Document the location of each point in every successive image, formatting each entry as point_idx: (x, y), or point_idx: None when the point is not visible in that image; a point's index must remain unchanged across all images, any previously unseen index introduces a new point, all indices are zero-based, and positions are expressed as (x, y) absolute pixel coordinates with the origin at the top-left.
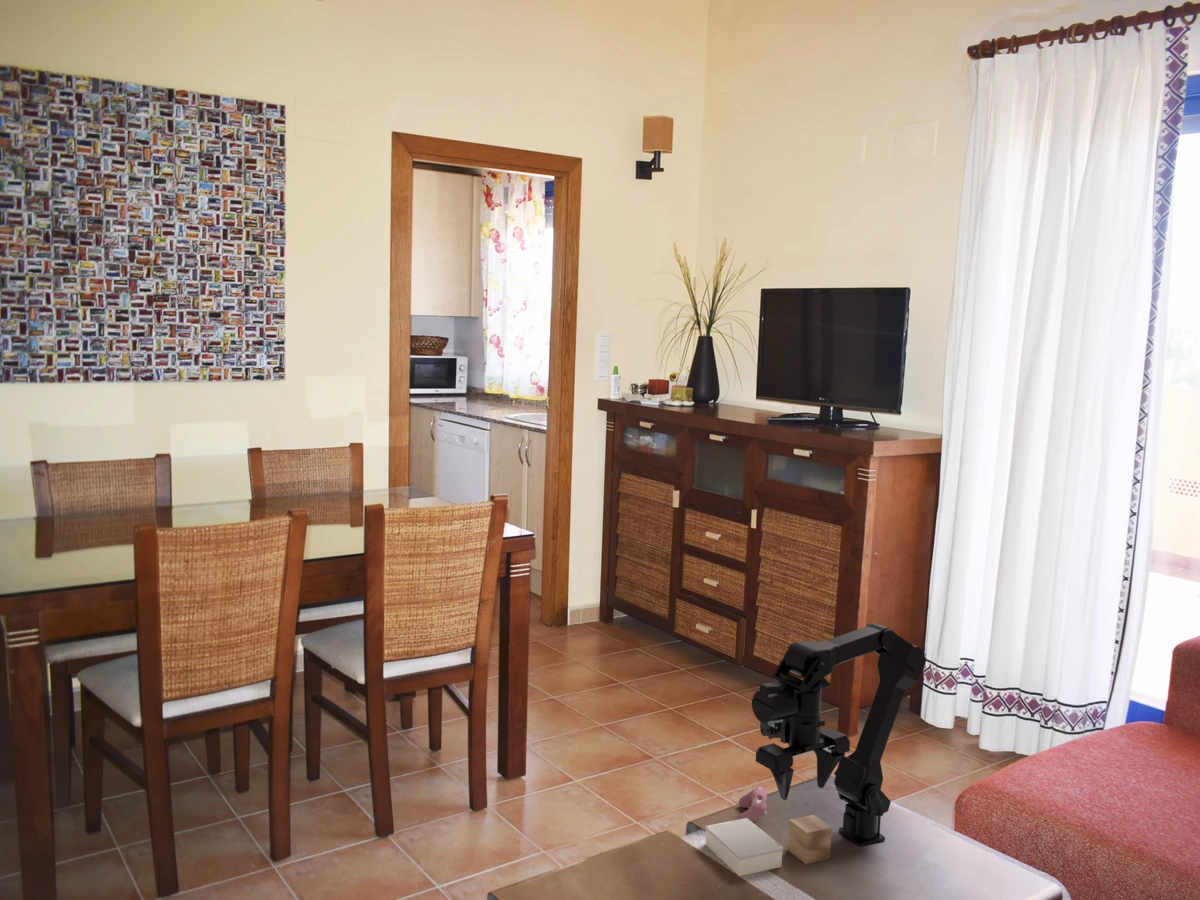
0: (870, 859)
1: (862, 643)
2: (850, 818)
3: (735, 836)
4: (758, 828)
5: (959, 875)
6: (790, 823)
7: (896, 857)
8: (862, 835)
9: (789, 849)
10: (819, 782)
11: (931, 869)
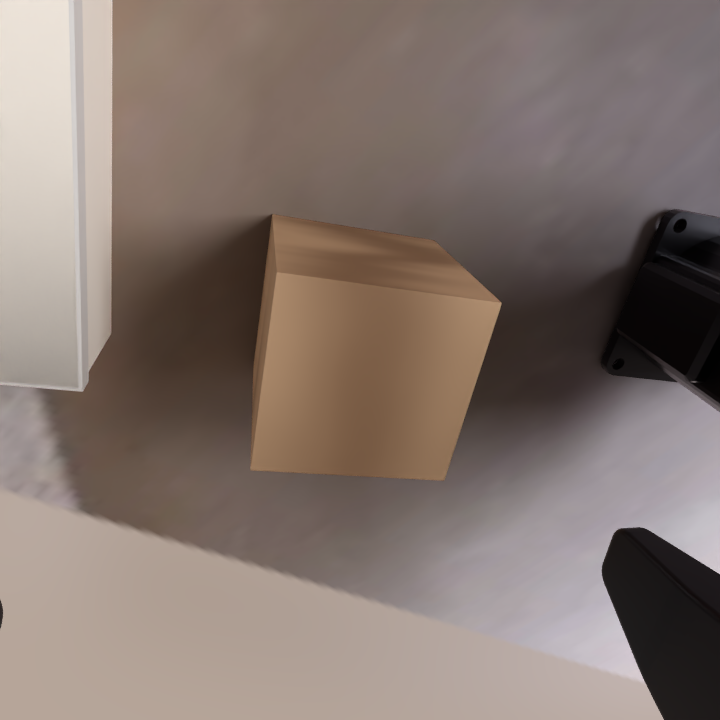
0: (534, 455)
1: None
2: (689, 367)
3: None
4: (65, 77)
5: None
6: (274, 279)
7: (623, 482)
8: (660, 364)
9: (270, 230)
10: (645, 596)
11: None
